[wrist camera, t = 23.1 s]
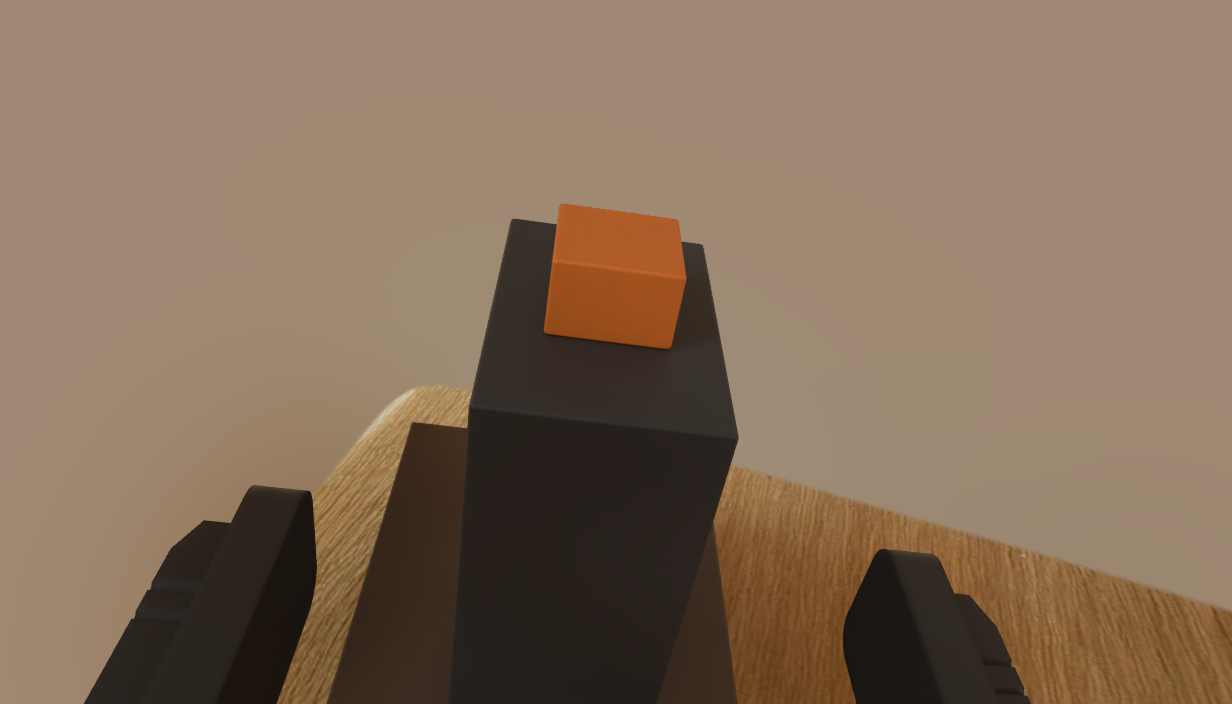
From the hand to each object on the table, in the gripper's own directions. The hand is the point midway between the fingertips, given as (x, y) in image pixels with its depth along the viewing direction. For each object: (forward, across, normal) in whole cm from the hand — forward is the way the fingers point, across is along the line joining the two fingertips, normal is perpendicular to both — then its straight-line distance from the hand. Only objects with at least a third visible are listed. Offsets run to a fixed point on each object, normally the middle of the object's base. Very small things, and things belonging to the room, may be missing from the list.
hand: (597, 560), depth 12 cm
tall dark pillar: (+6, 0, -12) cm, 13 cm away
